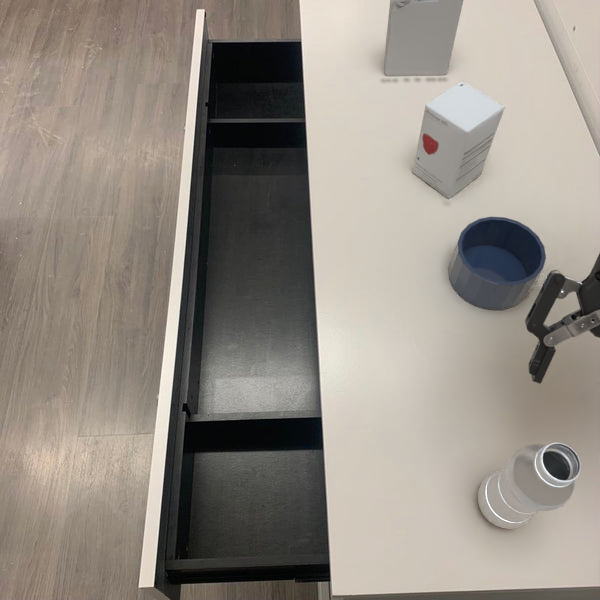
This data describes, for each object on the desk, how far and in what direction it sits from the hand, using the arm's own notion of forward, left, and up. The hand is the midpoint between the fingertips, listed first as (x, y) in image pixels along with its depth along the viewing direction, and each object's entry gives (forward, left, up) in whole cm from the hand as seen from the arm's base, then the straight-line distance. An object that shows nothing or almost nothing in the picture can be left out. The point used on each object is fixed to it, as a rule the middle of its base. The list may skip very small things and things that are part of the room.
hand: (581, 398), depth 50 cm
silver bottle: (-3, +5, -22) cm, 23 cm away
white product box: (+45, -24, -22) cm, 55 cm away
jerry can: (+73, -36, -22) cm, 84 cm away
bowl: (+24, -16, -22) cm, 36 cm away
